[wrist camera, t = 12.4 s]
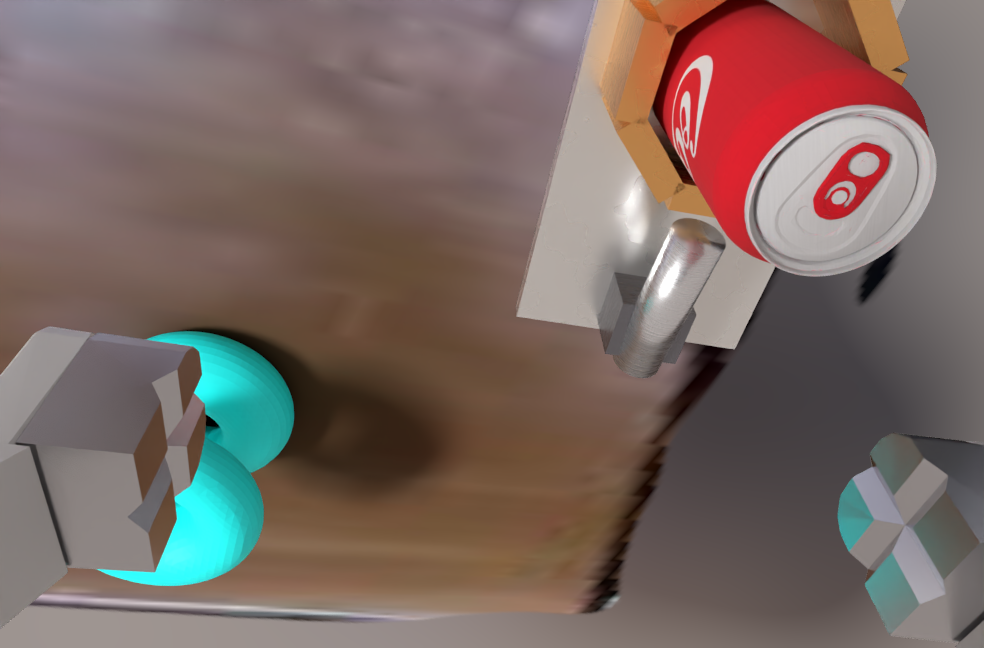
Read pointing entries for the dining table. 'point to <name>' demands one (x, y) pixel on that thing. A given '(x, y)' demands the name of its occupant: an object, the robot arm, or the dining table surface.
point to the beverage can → (794, 139)
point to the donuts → (224, 462)
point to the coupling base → (622, 214)
